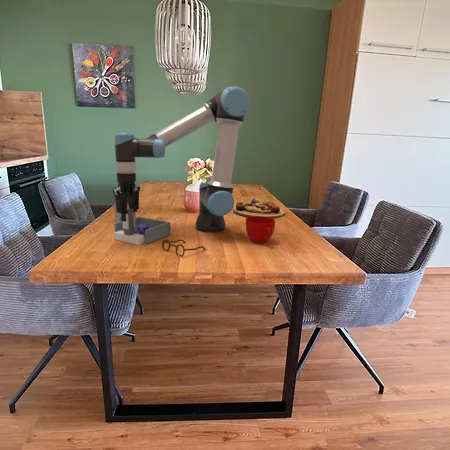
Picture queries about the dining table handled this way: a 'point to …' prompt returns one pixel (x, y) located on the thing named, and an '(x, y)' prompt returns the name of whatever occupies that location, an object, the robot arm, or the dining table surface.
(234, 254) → the dining table surface
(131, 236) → the scraper
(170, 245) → the glasses
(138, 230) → the pudding
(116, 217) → the coffee box
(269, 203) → the wooden plate with food
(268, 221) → the ceramic cup
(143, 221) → the bin
